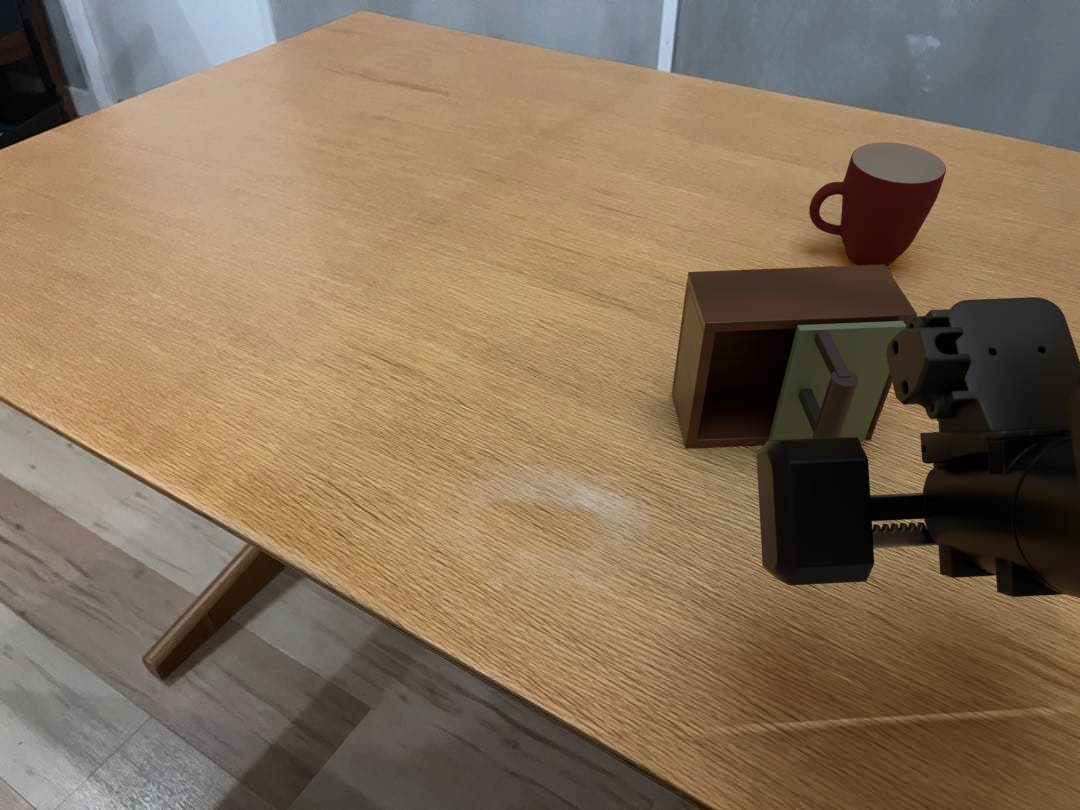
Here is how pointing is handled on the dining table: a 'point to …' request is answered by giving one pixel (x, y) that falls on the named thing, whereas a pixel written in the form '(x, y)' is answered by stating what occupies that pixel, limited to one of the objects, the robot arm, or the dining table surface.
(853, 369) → the door
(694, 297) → the cabinet
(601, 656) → the dining table surface
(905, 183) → the mug
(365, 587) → the dining table surface
